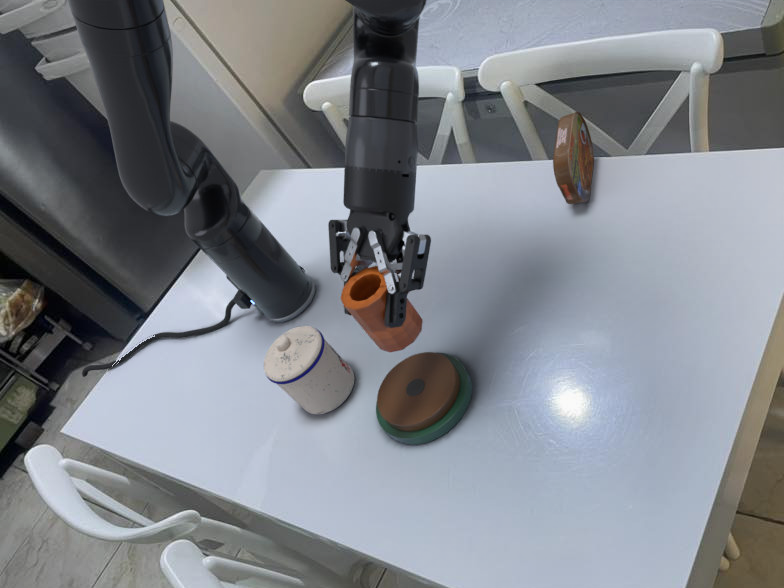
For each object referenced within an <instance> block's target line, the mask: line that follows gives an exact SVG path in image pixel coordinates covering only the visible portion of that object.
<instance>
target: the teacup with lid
mask: <svg viewBox="0 0 784 588" xmlns="http://www.w3.org/2000/svg"><path fill="white" fill-rule="evenodd" d="M263 371H264V374H265V376H266V378H267V380H269V381H270V382H271V383H273V384H275V385H277V386H278V387H279V388H280V389H281V390H282V391H284V392H285V393H286V394H287V395H288V396H289V397H291V399H292V400H293V401H294V402H296V403H297V404H298V405H299V406H300V407H301V408H302V409H303V410H304V411H306V412H307V413H309V414H312V415H324V414H327V413H330V412H332V411H334V410H336V409H337V408H339V407H340V406H341V405H342V404H343V403H344V402H345V401H347V398H348V397H349V396H350V394H351V392H352V390H353V388H354V385H355V373H354V371H353V369H352V367H351V366H350V364H348V363H347V361H345V359H344V358H343V357H342V356H341V355H340V354H339V353H338V352H337V351H336V350H335V348H333V347H332V345H331V344H330V343H329V342H328V341H327V340H326V339H325V337H324V335H323V333H322V332H321V331H320V330H319V329H317V328H315V327H312V326H309V325H301V326H296V327H293V328H290V329H289V330H287V331H285V332H284V333H282V334H281V335H280V336H278V337H277V338H276V339H275V341H273V343H272V344H271V345H270V347H269V348H268V349H267V352H266V354H265V357H264V360H263Z"/></svg>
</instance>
